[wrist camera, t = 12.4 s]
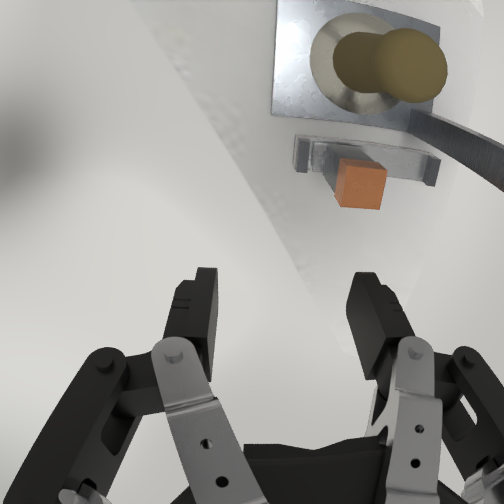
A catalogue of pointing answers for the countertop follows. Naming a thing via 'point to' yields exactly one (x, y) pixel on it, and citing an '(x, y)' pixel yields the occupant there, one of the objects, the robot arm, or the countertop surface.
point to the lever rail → (375, 158)
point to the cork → (391, 64)
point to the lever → (350, 174)
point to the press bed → (354, 103)
